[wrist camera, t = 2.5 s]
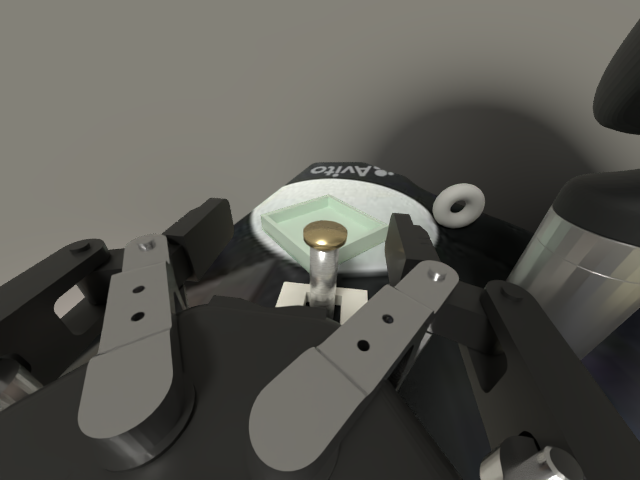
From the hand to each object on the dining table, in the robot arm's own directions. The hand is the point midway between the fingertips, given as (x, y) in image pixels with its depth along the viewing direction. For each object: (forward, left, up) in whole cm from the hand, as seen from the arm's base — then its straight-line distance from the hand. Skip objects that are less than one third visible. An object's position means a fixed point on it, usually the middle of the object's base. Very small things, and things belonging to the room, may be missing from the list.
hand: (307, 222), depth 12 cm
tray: (-21, -24, -21) cm, 38 cm away
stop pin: (-8, -8, -21) cm, 24 cm away
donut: (-46, -10, -21) cm, 52 cm away
